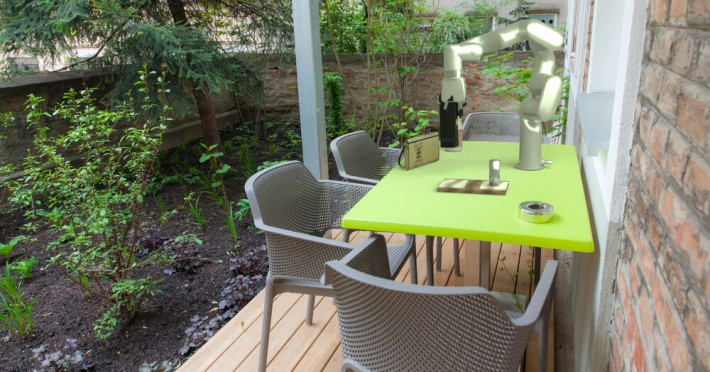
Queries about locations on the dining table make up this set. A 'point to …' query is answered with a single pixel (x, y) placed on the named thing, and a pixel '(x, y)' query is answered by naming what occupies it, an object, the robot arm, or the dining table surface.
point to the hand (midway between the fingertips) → (454, 117)
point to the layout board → (472, 187)
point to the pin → (494, 172)
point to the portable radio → (449, 124)
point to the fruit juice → (458, 138)
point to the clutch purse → (420, 150)
